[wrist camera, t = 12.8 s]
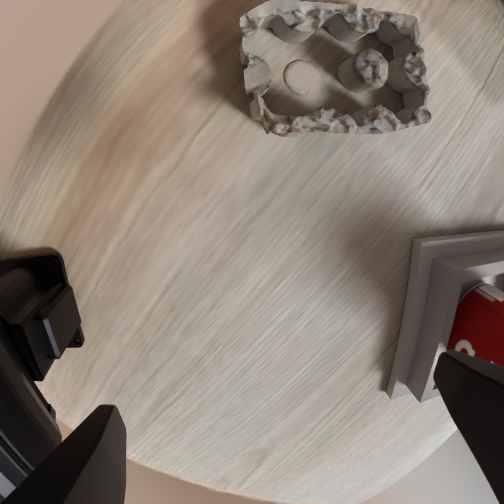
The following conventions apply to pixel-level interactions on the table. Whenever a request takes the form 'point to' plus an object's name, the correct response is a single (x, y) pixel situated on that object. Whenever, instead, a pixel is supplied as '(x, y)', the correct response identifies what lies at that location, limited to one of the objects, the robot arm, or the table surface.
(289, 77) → the egg carton
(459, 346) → the soda can
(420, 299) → the square gray tray
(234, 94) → the table surface
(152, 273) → the table surface
